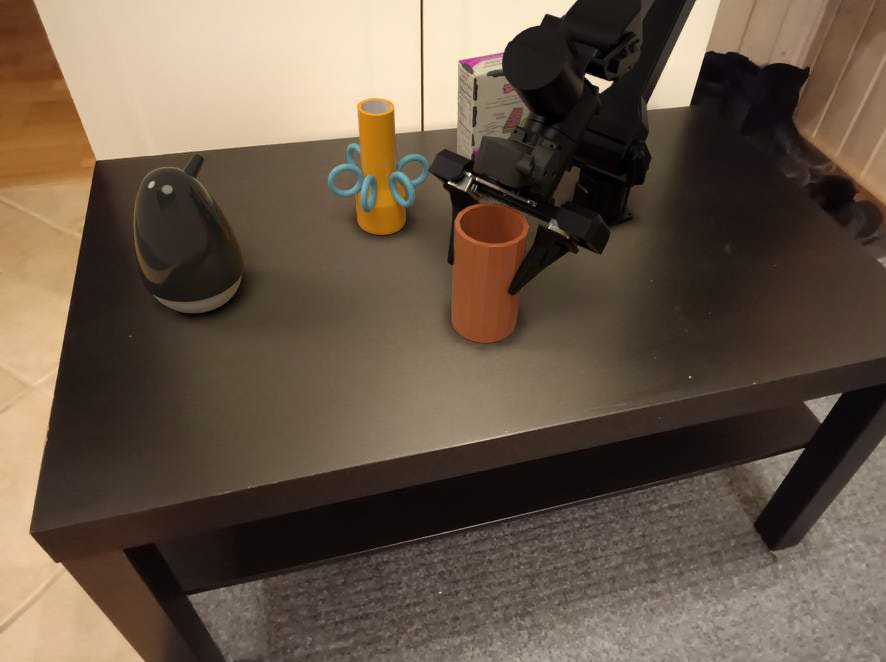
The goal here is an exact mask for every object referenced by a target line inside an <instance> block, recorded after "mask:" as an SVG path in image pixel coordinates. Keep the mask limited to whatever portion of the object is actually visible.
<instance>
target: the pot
mask: <svg viewBox="0 0 886 662" xmlns="http://www.w3.org/2000/svg"><path fill="white" fill-rule="evenodd" d="M529 232H530V225H529V221H528V219H527V218H526V216H525V215H523V214H522V212H521V211H519V210H517V209H515V208H512V207H510V206H508V205H506V204H502V203H496V202H479V204H476V205H472V206H469V207H466V208H465V209H464V210H462V211H461V212H459V213H458V215H457V217H456V219H455V221H454V248H453V266H452V275H451V276H452V277H451V279H452V280H451V302H450V305H451V306H450V313H451V315H450V316H451V317H450V319H451V320H450V321H451V325H452V327H453V329H454V330H455V331H456V333H457V334H458V335H459V336H461V337H462V338H464V339H466V340H469V341H471V342H475V343H480V344H489V343H496V342H500V341H502V340H505V339H507V338H508V337H509V336H511V334H512V333H513V332H514V331H515V329H516V326H517V320H518V317H519V316H518V315H519V308H520V301H521V293H522V289H521V290H520V291H519V292H517V293H516V294H515V295H514V296H512V295H510V294H509V293H508V289H509V287H510V285H511V282H512V280H513V278H514V276H515V274H516V273H517V271H518V269H519V267H520V266H521V264H522V262H523V260H524V259H525V257H526V255H527V247H528V239H529Z"/></svg>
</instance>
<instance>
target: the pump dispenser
mask: <svg viewBox="0 0 886 662" xmlns="http://www.w3.org/2000/svg"><path fill="white" fill-rule="evenodd" d="M204 162H205V158H204V156H203V155H202V154H201V153H193V155H192V156H191V158H190V159H189V160H188V162H187V163H186V165H185V166H184V168H183V169H181V168H179V167H176V166H175V167H173V166H163V167H158V168H155V169H153V170H151V171H150V172H148V173H147V174H146V175H145V176H144V178H143V179H142V180H141V182H140V184H139V187H138V189H137V192H136V195H135V200H134V206H133V218H132V219H133V221H132V231H133V232H132V234H133V235H132V236H133V248H134V256H135V262H136V266H137V271H138V275H139V278H140V280H141V284H142V285H143V287H144V288H145V289H146V290H147V292H149V293H150V294H151V295H153V297H154V298H155V299H156V300H158V301H159V302H160V303H161V304H162V305H163V306H165V307H167V308H169V309H171V310H172V311H177V312H180V313H185V314H202V313H207V312H210V311H214V310H217V309H218V308H221V306H224V305H225V304H226V303H228V302H229V301H230V300H231V299H232V298H233V296H235V294H236V293H237V291H238V289H239V287H240V284H241V281H242V276H243V273H244V270H245V259H244V255H243V251H242V249H241V246H240V242H239V241H238V238H237V236H236V234H235V231H234V230H233V227H232V225H231V224H230V221H229V220H228V218H227V217H226V215H225V213H224V212H223V210H222V208H221V207H220V205H219V204H218V202H217V201H216V199H215V198H214V197H213V195H212V194H211V193H210V192H209V190H208V189H207V188H206V187H205V186H204V185H203V184H202V182H200V181H199V180H198V179H197V178H198V176H199V174H200V171H201V169H202V167H203V164H204Z"/></svg>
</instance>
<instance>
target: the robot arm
mask: <svg viewBox="0 0 886 662" xmlns="http://www.w3.org/2000/svg"><path fill="white" fill-rule="evenodd" d="M696 2H697V0H576V1H575V2H574V3H573V4H572V5H571V6H570V8H568V9H567V11H566V13H564V14H563V15H562V16H561V17H560V16H556V15H553V14H550V13H545V14H544V16H543V18H542V20H541V22H540V24H539V25H534V26H530V27H527V28H525V29H524V30H521V32H518V33H517V34H516V35H515V36H514V37H513V39H511V40H510V41H508V43H507V44H506V46H505V48H504V51H503V52H504V53H503V57H502V69H503V73H504V75H505V78H506V79H507V81H508V82H509V83H510V85H511V86H512V88H513V89H514V90H515V92H516V93H517V94H518V96H519V97H520V99H521V100H522V101H523V103H524V104H525V106H526V107H527V108H528V109H529V111H530V113H529V115H528V117H527V119H526V121H525V123H524V125H523V127H520V126H517V125H516V127H515V129H513V130H512V132H511V134H510V136H509V138H508V139H505V138H501V137H491V136H482V140H481V143H480V146H479V150H478V153H477V156H476V160H475V162H474V161H473V160H471V159H468V158H466V157H464V156H461V155H459V154H457V152H454V151H452V150H450V149H448V148H444V149H442V150H441V151H439V152H438V153H436V154H435V155H433V158H432V160H431V162H430V163H429V168H428V170H427V171H429V174H431V175H432V176H433V177H435V178H436V179H437V180H439V181H440V182H441V183H442V188H443V190H445V191H446V192H448V193H449V198H450V202H451V226H450V227H451V228H450V233H449V234H450V236H449V245H448V252H447V260H446V262H447V264H448V265H450V266H452V267H453V248H454V221H455V219H456V217H457V215H458V213H459V212H461V211H462V210H464V209H465V208H466V207H469V206H472V205H476V204H479V203H480V201H481V199H482V198H483V196H485V197H488V198H490V199H492V200H495V201H496V202H499V203H500V204H502V205H506V206H509V207H511V208H513V209H515V210H517V211H519V212H520V213H524V214H526V215H528V216H531V217H533V218H535V219H537V220H539V221H541V222H544V223H547V224H548V227H547V226H545V225H542V224H540V223H538V224H537V228H536V230H535V231H536V232H535V235H534V240H533V243H532V245H531V246H530V248H529V249H528V251H527V252H526V256H525V259H524V260H523V262H522V264H521V266H520V267H519V269H518V271H517V273H516V274H515V276H514V278H513V280H512V282H511V285H510V287H509V289H508V293H509V294H510V295H512V296H514V295H515V294H516V293H517V292H519V291H520V290H521V291H522V289H523V288H524V287H525V286H527V285H528V284H529V283H531V281H533V280H534V279H535V278H536V277H537V276H538V275H540V273H542V272H543V271H544V270H545V269H547V268H548V267H549V266H550V265H552V264H554V263H555V262H557V261H558V260H559V259H561V258H562V257H564V256H565V255H567V254H568V253H572V254H574V255H578V253H579V251H580V249H579V247H580V248H582V249H584V250H587V251H590V252H592V253H594V254H596V255H599V256H601V255H602V254H603V253H604V250H605V248H606V246H607V245H608V243H609V241H610V236H611V231H610V226H614V225H618V224H620V223H624V222H626V221H627V222H628V221H629V220H632V219H634V214H633V213H632V212H631V211H630V210H629V209H628V208H627V204H628V202H629V196H630V193H631V189H632V188H633V187H634V186H635V187H636V186H642V185H644V183H645V180H646V176H647V172H648V171H649V169H650V164H651V161H652V159H653V158H652V155H651V152H650V150H649V148H648V145H647V143H646V141H647V138H648V136H649V133H650V126H649V114H648V104H649V102H650V100H651V97H652V96H653V94H654V91H655V90H656V87H657V85H658V83H659V80H660V78H661V76H662V74H663V72H664V70H665V67H666V65H667V63H668V61H669V59H670V57H671V55H672V53H673V51H674V49H675V46H676V44H677V42H678V40H679V39H680V36H681V34H682V32H683V29H684V27H685V25H686V23H687V21H688V19H689V17H690V16H691V15H690V14H691V12H692V10H693V8H694V6H695V5H696ZM586 75H588V76H592V77H594V78H597V79H600V80H603V81H606V82H611V84H610V85H609V86H608V87H607V88H605V89H604V90H603V91H601V92H600V87H599V86H598V85H595V84H593V83H592V82H591V80H589V78H587V77H586ZM574 167H575V168H577V169H579V171H578V172H579V173H578V176H577V177H578V178H577V181H576V182H575V183H574V188H573V193H572V194H573V195H572V199H568V200H566V201H565V202H564V203H563V204H561V206H558V205H555V203H556V199H555V198H554V195H555V194H556V191H557V189H558V187H559V185H560V183H561V181H562V180H563V177H564V176H565V173H566V172H568V173H571V172H572V169H573V168H574ZM488 176H491V177H493V178H495V179H497V180H495V179H493V178H490V177H488ZM534 203H535V205H534Z"/></svg>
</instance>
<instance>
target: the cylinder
mask: <svg viewBox="0 0 886 662" xmlns="http://www.w3.org/2000/svg"><path fill="white" fill-rule="evenodd" d="M356 111H357V123H358V125H357V126H358V138H359V144H358V143H354V142H353V143H350V144H349V145H348V146H347V147H346V160H347V163H342V164H338V165H337V166H335V167H333V169H332V170H331V171H330V172H329V174H328V176H327V186H328V187H327V188H328V189H329V191H330V192H331V193H332V194H334V195H335V196H337V197H338V198H350V197H353V196H354V198H355V208H356V209H355V210H356V220H357V224H358V226H359V227H360V228H361V229H362V230H363V231H364V232H366V233H369V234H372V235H377V236H378V235H379V236H386V235H392V234H395V233H397V232H399V231H401V230H402V229H403V228H404V226H405V225H406V222H407V208H411V207H412V206H414V204H415V203H416V199H417V198H416V197H417V195H416V194H417V193H416V189H415V187H417V186H420V185H421V184H423V183H424V182H425V181H426V180H427V178H428V177H429V174H430V172H429V171H427V170H428V168H429V166H430V163H429V161H428V159H427V158H426V157H424V156H423V155H421V154H419V153H410V154H407V155H405V156H403V157H402V158H401V159H400V160H399V161H398V162H397V144H396V141H397V140H396V119H395V118H396V117H395V115H396V113H395V105H394V103H393V102H392V101H391V100H388V99H386V98H381V97H371V98H370V97H369V98H366V99H363V100H360V101H359V102H358V103H357V105H356ZM354 151H355V152H357V153H358V154H359V156H360V167H361V168H360V167H359V166H357V164H356V162H355V159H354ZM411 162H419V164H421V165H422V172H421V174H420V176H418V177H417V178H415V179H410V177H409V176H408V175H407V174H406V173H404V172H403V169H404V167H405V166H406V165H407V164H408V163H411ZM347 171H348V172H352V173H353V174H354V175H355V176H356V178H357V181H356V183H355V185H354V186H353V187H352V188H350V189H346V190H343V189H340V188H338V187H337V186H336V183H335V181H336V178H337V177H338V175H339V174H341V173H343V172H347ZM404 187H405V188H406V189H407V192H408V193H407V194H408V199H406V198H407V197H406V195H407V194H406V191H405V188H404Z"/></svg>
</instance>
